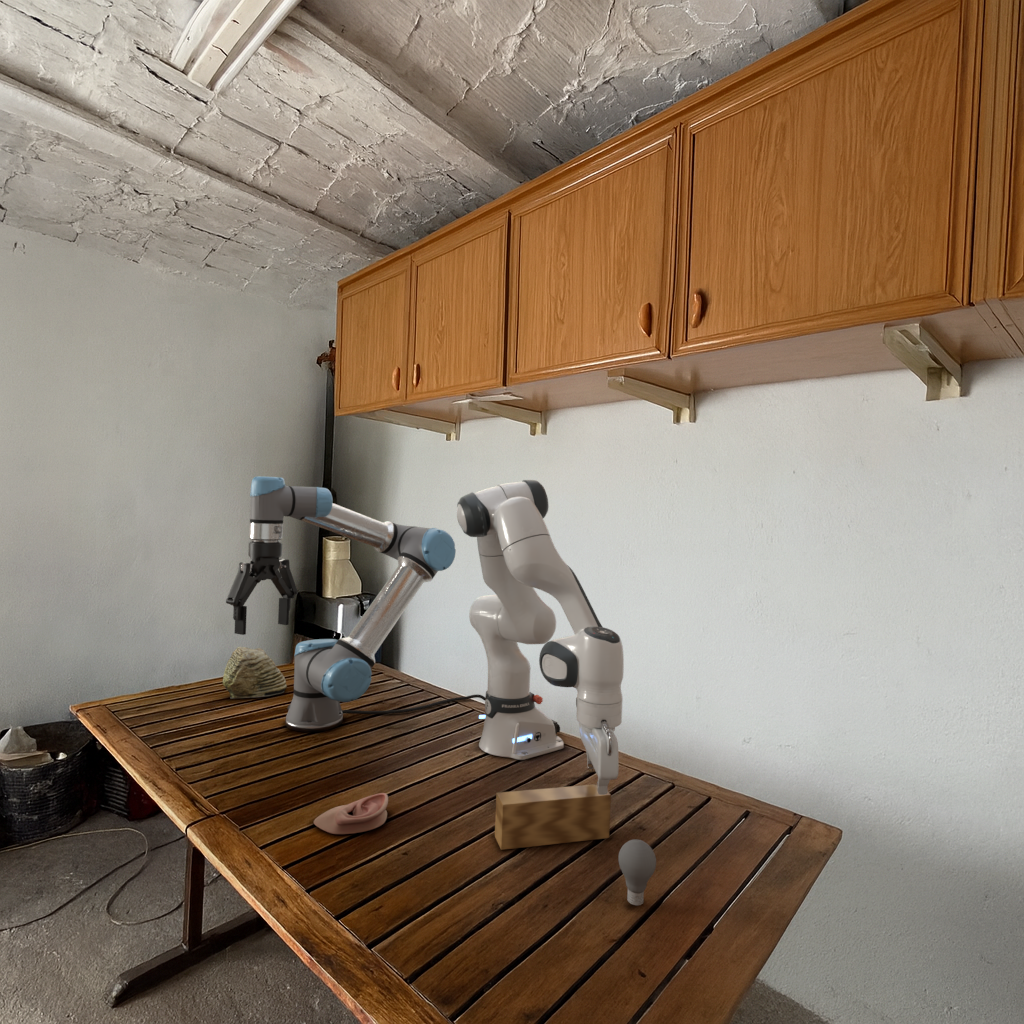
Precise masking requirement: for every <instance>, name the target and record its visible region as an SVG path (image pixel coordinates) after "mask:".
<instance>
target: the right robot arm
mask: <svg viewBox="0 0 1024 1024" xmlns="http://www.w3.org/2000/svg"><path fill="white" fill-rule="evenodd" d="M456 505H457V506H456V519H457V523H458V525H459V527H460V529H461V530H462V532H463V533H464V535H466V536H468V537H470V538H476V544H477V550H478V557H479V563H480V567H481V568H480V569H481V575H482V578H483V582H484V583H485V585H486V586H487V588H489V589H490V590H492V591H493V593H494V594H487V595H480V596H478V597H477V598H476V599H474V601H473V602H472V604H471V606H470V608H469V615H468V617H469V623H470V625H471V626H472V628H473V630H475V631H476V633H477V635H478V636H479V637H480V640H481V642H482V645H483V648H484V651H485V656H486V661H487V689H486V691H485V696H484V697H485V700H484V714H479V715H478V719H480V720H482V719H484V722H483V728H482V733H481V736H480V739H479V743H478V747H479V749H480V750H481V751H482V752H485V753H486V754H488V755H491V756H492V755H493V756H496V757H503V758H510V759H514V760H518V761H525V760H528V759H532V758H535V757H538V756H542V755H546V754H549V753H552V752H556V751H559V750H563V749H564V748H565V742H564V740H563V739H562V738H561V737H560V736H558V734H559V733H560V732H561V727H560V725H559V723H558V721H555V719H551V718H550V717H549V716H548V715H547V714H546V713H544V712H543V711H542V710H540V708H538V707H537V706H536V704H537V705H541V704H542V703H543V701H544V699H543V697H542V696H541V695H539V694H534V693H533V692H531V690H530V689H531V671H532V670H531V669H532V668H531V667H532V666H531V663H530V661H529V659H528V658H527V657H526V656H525V655H524V654H523V652H522V650H521V649H520V647H519V644H518V643H520V644H524V645H543V646H542V648H541V649H540V652H539V658H538V659H539V660H538V662H539V663H538V664H539V669H540V673H541V674H542V676H543V678H544V679H545V680H546V681H547V683H549V684H550V685H552V686H554V687H560V688H574V689H575V690H576V693H577V694H576V698H575V707H576V717H575V718H576V721H577V722H578V730H579V737H580V740H581V742H582V744H583V747H584V749H585V754H586V760H587V763H586V765H587V766H586V768H587V770H588V772H590V773H595V774H596V776H597V781H596V784H597V791H598V794H600V795H606V794H607V791H608V792H609V789H608V788H609V785H610V784H609V783H610V781H615V780H617V779H618V777H619V770H620V769H619V764H620V763H619V759H620V758H619V741H618V738H617V736H616V734H615V731H616V728H617V727H619V726H621V724H622V722H623V691H622V682H623V679H624V671H625V670H624V669H625V668H624V667H625V666H624V665H625V664H624V663H625V661H624V659H625V657H624V656H625V655H624V647H623V642H622V639H621V636H619V634H618V633H617V632H615V631H614V630H613V629H610V628H608V627H603V625H602V624H601V622H600V620H599V618H598V616H597V614H596V612H595V610H594V608H593V606H592V603H591V602H590V600H589V598H588V596H587V594H586V591H585V590H584V588H583V586H582V584H581V582H580V580H579V578H578V576H577V575H576V573H575V572H574V570H573V569H572V568H571V567H570V566H569V565H568V564H567V563H566V561H564V559H563V558H562V556H561V555H560V553H559V551H558V550H557V548H556V546H555V544H554V541H553V540H552V537H551V534H550V532H549V529H548V527H547V524H546V522H545V517H546V516H547V514H548V513H549V497H548V494H547V491H546V489H545V488H544V486H543V484H542V483H540V482H539V481H538V480H537V479H523V480H522V481H513V482H507V483H501V484H497V485H496V486H492V487H491V486H490V487H487V488H485V489H482V490H479V491H476V492H473V491H472V492H469V493H467V494H465V495H462V496H461V497H460V498H459V499H458V502H457V504H456ZM535 589H537V590H539V591H542V592H545V593H546V594H549V595H550V596H552V597H553V598H554V599H555V600H556V601H557V602H558V603H559V604H560V607H561V608H562V610H563V612H564V615H565V617H566V619H567V621H568V622H569V625H570V627H571V629H572V631H573V633H574V634H572V635H569V636H563V637H558V638H555V639H552V638H553V636H554V634H555V632H556V628H557V618H556V614H555V612H554V610H553V609H552V608H551V607H550V606H549V605H547V603H546V602H544V600H542V598H541V596H539V594H538V592H537V591H536V590H535ZM551 639H552V640H551Z"/></svg>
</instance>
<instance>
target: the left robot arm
mask: <svg viewBox="0 0 1024 1024" xmlns="http://www.w3.org/2000/svg"><path fill="white" fill-rule="evenodd" d="M250 484H251V485H250V491H249V492H250V494H249V497H250V499H249V528H248V529H249V530H248V539H249V540H251V541H249V542H248V557H249V558H250V560H249V561H250V562H239V563H238V566H237V567H238V568H237V573H236V576H235V578H234V580H233V583H232V585H231V587H230V590H229V592H228V594H227V597H226V599H225V603H226V604H227V605H230V606H233V607H232V608H233V613H232V614H233V615H232V619H233V620H234V634H235V635H242V636H244V635H246V634H247V615H248V614H247V609H248V606H247V605H245V604H246V602H247V600H248V599H249V597H250V596H251V594H252V593H253V591H254V590H255V588H256V586H257V585H258V584H260V582H261V581H266V580H270V581H271V582H272V584H273V585H274V587H275V588H276V590H277V591H278V593H279V594H280V596H281V597H279V598H278V618H277V625H282V626H288V625H290V624H289V622H290V611H291V605H292V603H291V601H292V599H295V597H296V596H297V595H298V588H297V585H296V583H295V579H294V577H293V574H292V570H291V567H290V566H291V565H290V559H286V558H281V557H282V556H283V543H282V540H283V531H284V530H283V529H284V518H285V517H290V518H293V519H295V520H299V521H301V522H304V523H307V524H310V525H312V526H316V527H318V528H321V529H324V530H327V531H330V532H332V533H335V534H337V535H340V536H343V537H345V538H348V539H351V540H354V541H357V542H360V543H363V544H365V545H369V546H371V547H373V548H374V550H375V551H376V552H378V553H380V554H383V555H386V556H388V557H390V558H392V559H394V560H397V563H398V565H397V566H396V569H395V570H394V572H393V573H392V574H391V576H390V577H389V578H388V579H387V581H386V583H385V584H384V585H383V587H382V588H381V590H380V591H379V592H378V594H377V595H376V597H375V598H374V599H373V601H372V602H371V603H370V605H369V606H368V607H367V609H366V611H365V612H364V614H362V616H361V617H360V618H359V621H358V622H357V623H356V625H354V627H353V628H352V630H351V632H350V633H349V634H348V636H345V637H341V638H339V639H336V638H319V639H308V640H303V641H300V642H297V644H296V645H295V650H294V655H293V656H294V672H293V695H292V696H293V697H292V699H291V702H290V704H289V705H288V706H287V708H286V710H288V711H287V713H286V715H285V726H286V728H287V729H289V730H291V731H294V732H295V731H296V732H301V733H316V732H325V731H329V730H332V729H335V728H337V727H339V726H340V725H342V723H343V722H344V715H345V714H346V715H347V714H348V715H393V714H394V715H395V714H403V713H404V714H405V713H410V712H415V711H421V710H426V709H430V708H433V707H435V706H438V705H443V704H448V703H453V702H458V701H465V700H471V699H476V698H479V699H481V700H483V701H485V697H486V696H484V695H483V694H471V695H467V696H459V697H452V698H448V699H444V700H438V701H435V702H432V703H428V704H425V705H424V704H423V705H420V706H415V707H410V708H401V709H393V710H391V709H390V710H360V709H359V710H353V709H342V706H341V703H350V702H353V701H356V700H358V699H359V698H361V697H362V696H363V695H364V694H365V693H366V692H367V691H368V690H369V687H370V685H371V683H372V679H373V678H372V675H373V673H372V672H373V671H372V669H373V667H374V666H375V664H376V657H375V655H376V653H377V651H378V650H379V649H380V647H381V646H382V644H383V643H384V641H385V640H386V638H387V637H388V635H389V634H390V632H391V631H392V629H393V628H394V627H395V625H397V623H398V621H399V619H400V618H401V617H402V615H403V614H404V612H405V611H406V609H407V608H408V607H409V604H411V602H412V601H413V599H414V597H416V595H417V594H418V592H419V590H420V589H421V587H422V586H423V584H425V583H429V582H431V581H433V579H434V578H435V576H436V575H437V573H438V572H443V571H445V570H448V569H449V568H450V567H451V566H452V564H453V563H454V560H455V557H456V543H455V541H454V539H453V537H452V536H451V534H450V533H449V532H447V531H446V530H444V529H441V528H440V529H439V528H437V527H424V526H415V525H404V524H398V523H396V522H392V521H389V520H388V521H384V522H383V521H380V520H377V519H375V518H372V517H370V516H368V515H364V514H363V513H359V512H356V511H354V510H352V509H349V508H346V507H343V506H341V505H339V504H336V503H333V501H334V500H333V495H332V492H331V491H330V490H329V489H328V488H327V487H320V486H298V485H297V486H294V485H286V482H285V478H283V477H280V476H263V475H261V476H258V475H256V476H254V477H253V478H252V480H251V483H250Z"/></svg>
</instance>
